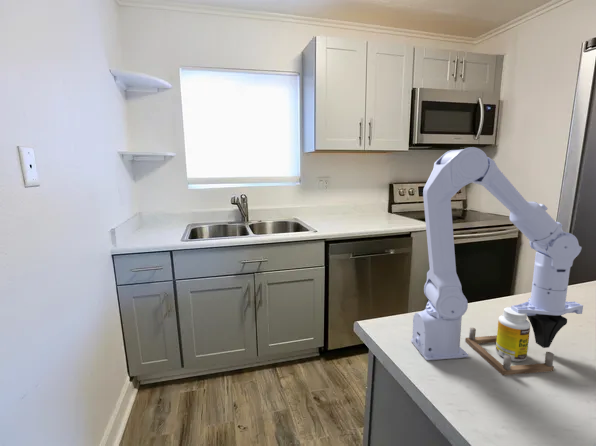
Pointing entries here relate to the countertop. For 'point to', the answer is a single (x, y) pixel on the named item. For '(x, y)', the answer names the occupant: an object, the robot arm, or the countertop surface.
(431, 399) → the countertop surface
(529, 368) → the peg frame
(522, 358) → the supplement bottle
